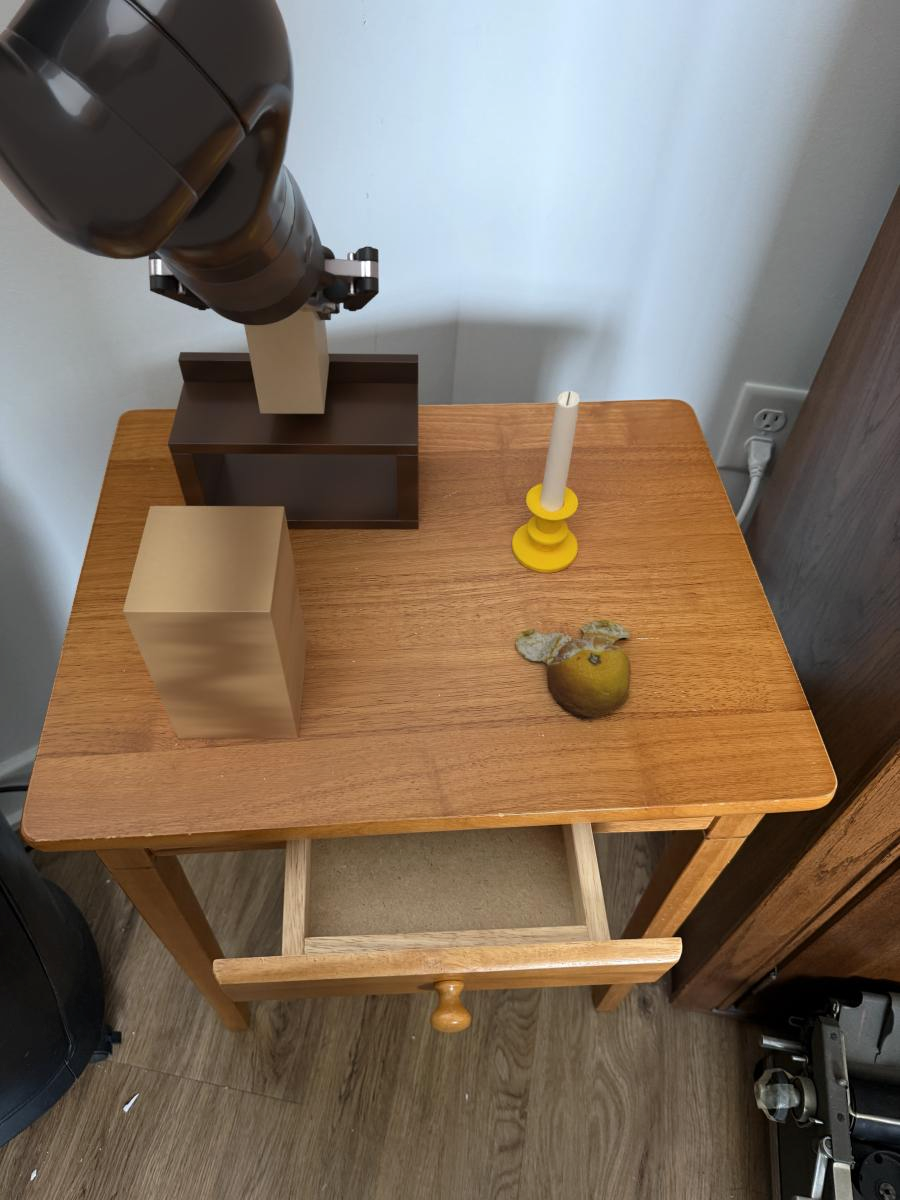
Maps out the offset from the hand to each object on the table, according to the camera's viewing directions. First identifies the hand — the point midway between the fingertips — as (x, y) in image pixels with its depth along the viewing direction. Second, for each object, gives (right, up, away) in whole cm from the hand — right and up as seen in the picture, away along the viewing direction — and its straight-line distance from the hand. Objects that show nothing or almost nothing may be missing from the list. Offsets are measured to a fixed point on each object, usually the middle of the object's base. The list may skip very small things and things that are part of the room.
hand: (288, 304), depth 62 cm
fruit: (+21, -25, +2) cm, 33 cm away
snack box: (0, -5, +3) cm, 6 cm away
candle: (+19, -17, +9) cm, 27 cm away
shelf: (0, -12, +12) cm, 17 cm away
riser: (-3, -27, 0) cm, 27 cm away
